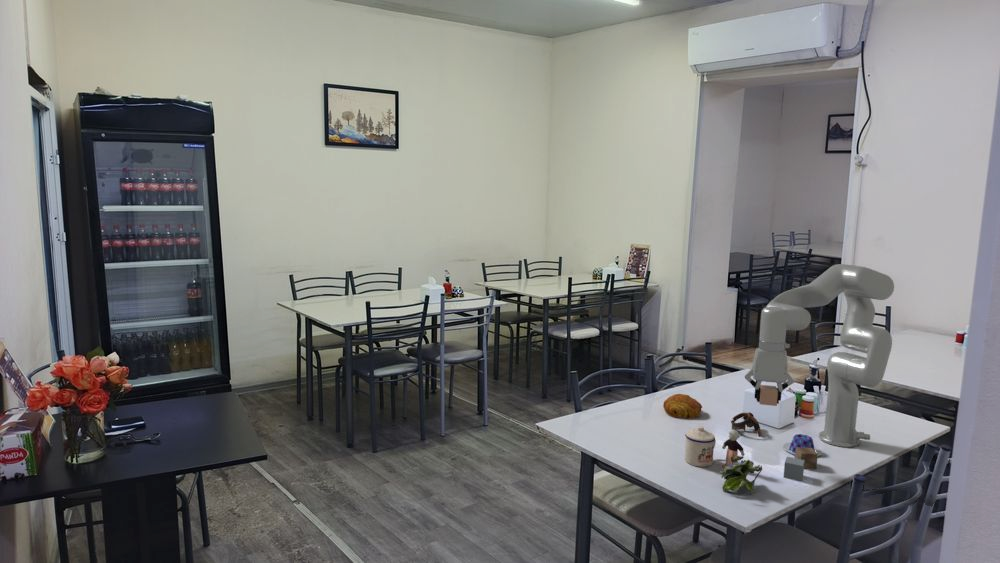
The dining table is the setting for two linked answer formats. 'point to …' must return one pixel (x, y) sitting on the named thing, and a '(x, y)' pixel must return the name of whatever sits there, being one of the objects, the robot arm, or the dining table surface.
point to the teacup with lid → (699, 447)
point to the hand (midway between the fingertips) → (767, 400)
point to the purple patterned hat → (801, 444)
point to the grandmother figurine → (732, 447)
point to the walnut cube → (807, 457)
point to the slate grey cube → (794, 468)
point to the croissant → (682, 406)
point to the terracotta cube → (768, 395)
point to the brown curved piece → (746, 422)
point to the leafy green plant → (739, 474)
